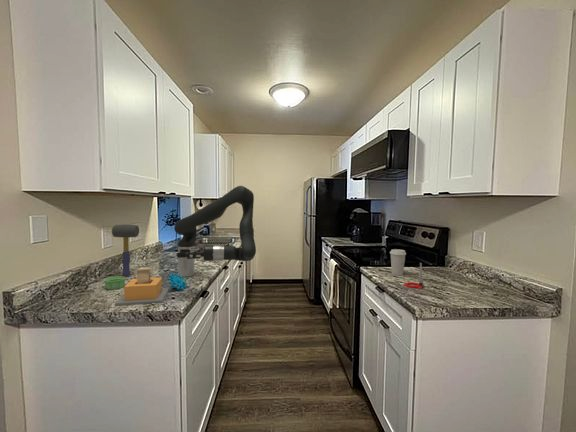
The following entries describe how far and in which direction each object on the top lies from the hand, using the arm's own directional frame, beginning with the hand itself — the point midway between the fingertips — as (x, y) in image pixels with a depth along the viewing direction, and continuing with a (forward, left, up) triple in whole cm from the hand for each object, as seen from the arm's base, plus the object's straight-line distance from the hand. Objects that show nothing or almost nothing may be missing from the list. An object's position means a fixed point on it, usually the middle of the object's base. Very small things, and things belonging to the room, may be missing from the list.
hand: (178, 253), depth 130 cm
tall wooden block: (+3, -14, -18) cm, 23 cm away
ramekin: (-16, -32, -19) cm, 41 cm away
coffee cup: (-11, +127, -19) cm, 129 cm away
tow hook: (+13, +119, -19) cm, 122 cm away
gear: (-8, -1, -19) cm, 21 cm away
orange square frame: (+3, -14, -19) cm, 24 cm away
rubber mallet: (-37, -33, -19) cm, 54 cm away
